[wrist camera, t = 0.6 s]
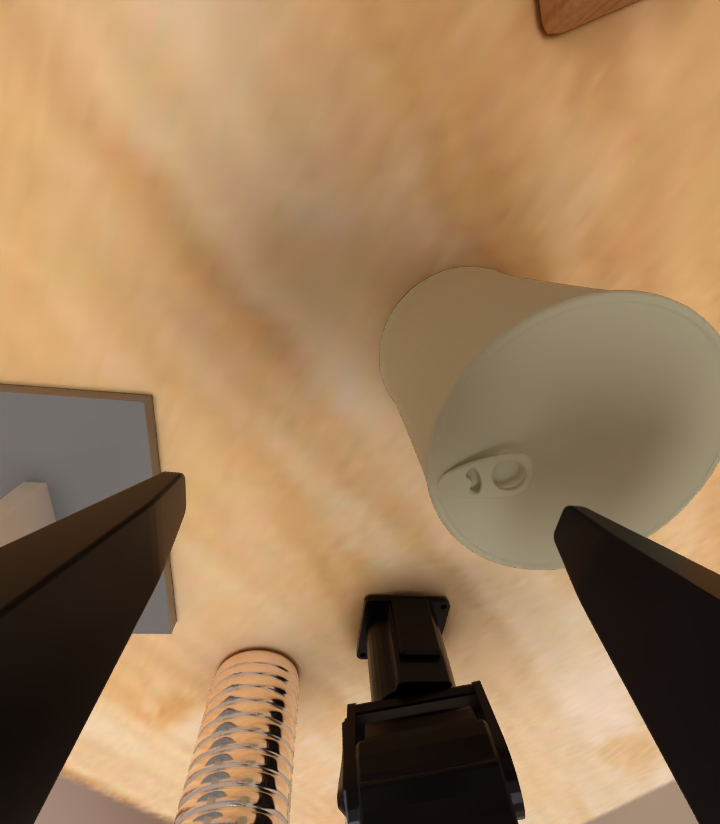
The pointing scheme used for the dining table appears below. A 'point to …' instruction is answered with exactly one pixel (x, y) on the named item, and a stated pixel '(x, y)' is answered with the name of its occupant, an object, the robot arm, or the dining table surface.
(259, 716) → the water bottle
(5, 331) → the dining table surface
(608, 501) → the can
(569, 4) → the decorative item
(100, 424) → the board
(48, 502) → the tile
